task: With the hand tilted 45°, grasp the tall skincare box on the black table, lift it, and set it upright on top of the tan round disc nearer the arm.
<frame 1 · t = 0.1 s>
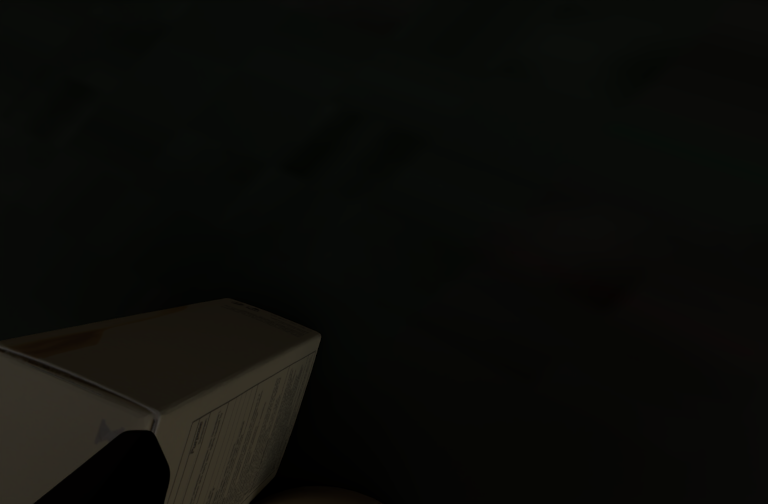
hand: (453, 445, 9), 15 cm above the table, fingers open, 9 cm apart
skincare box: (251, 389, 25), on the table
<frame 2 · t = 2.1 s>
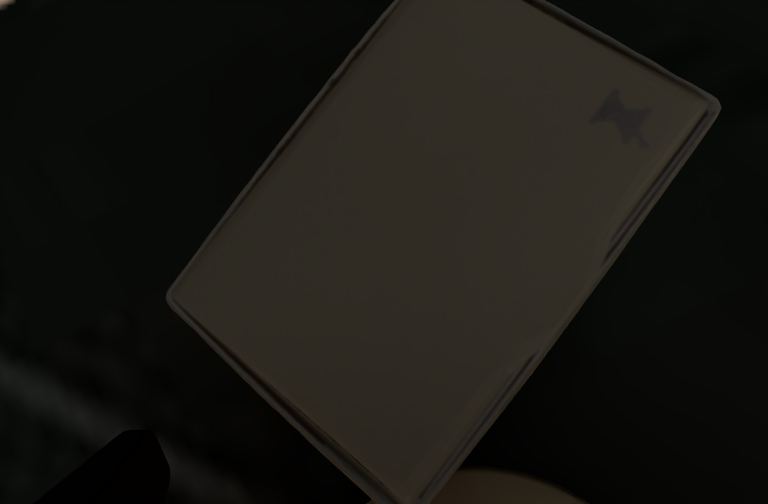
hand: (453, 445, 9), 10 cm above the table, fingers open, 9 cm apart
skincare box: (475, 325, 20), on the table
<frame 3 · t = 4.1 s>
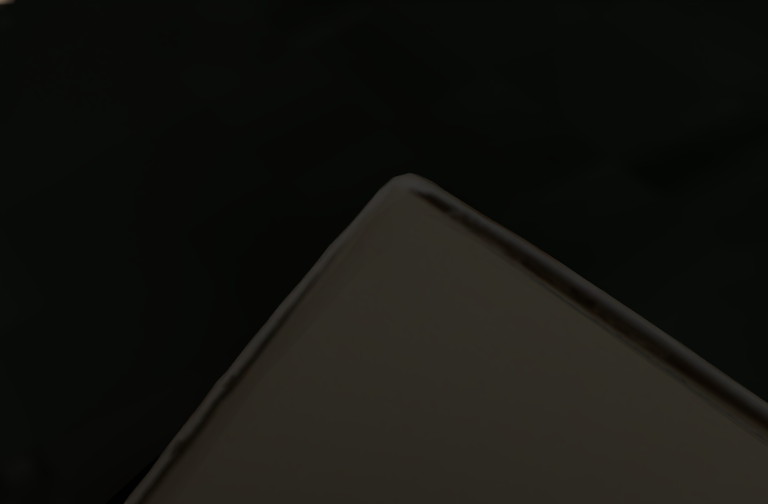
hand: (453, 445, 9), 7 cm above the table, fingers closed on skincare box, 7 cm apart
skincare box: (474, 490, 15), on the table, touching gripper
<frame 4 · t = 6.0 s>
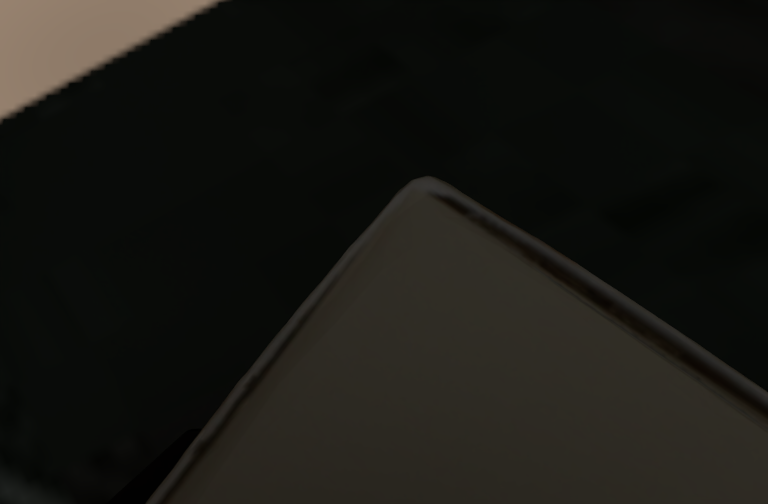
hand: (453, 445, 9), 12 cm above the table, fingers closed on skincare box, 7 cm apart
skincare box: (466, 486, 15), point 5 cm above the table, touching gripper
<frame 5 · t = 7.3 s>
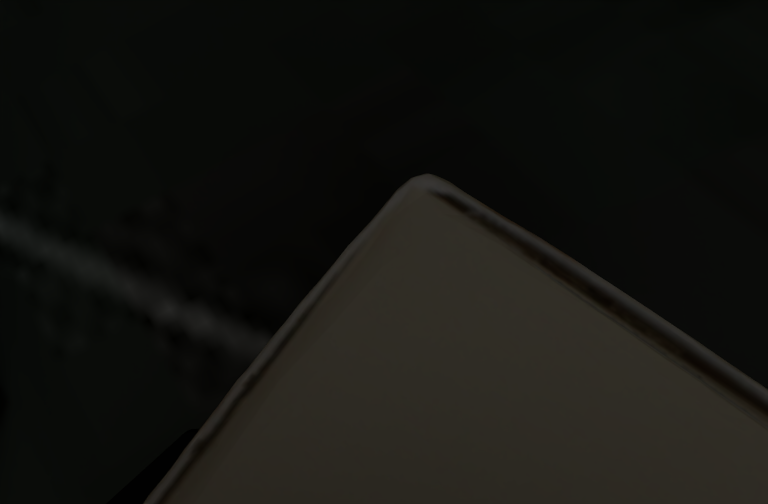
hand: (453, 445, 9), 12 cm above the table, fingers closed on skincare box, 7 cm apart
skincare box: (466, 486, 15), point 5 cm above the table, touching gripper
when the fingers open (11 cm above the table, at t = 8.3 s): skincare box stays where it is, resting on tan round disc.
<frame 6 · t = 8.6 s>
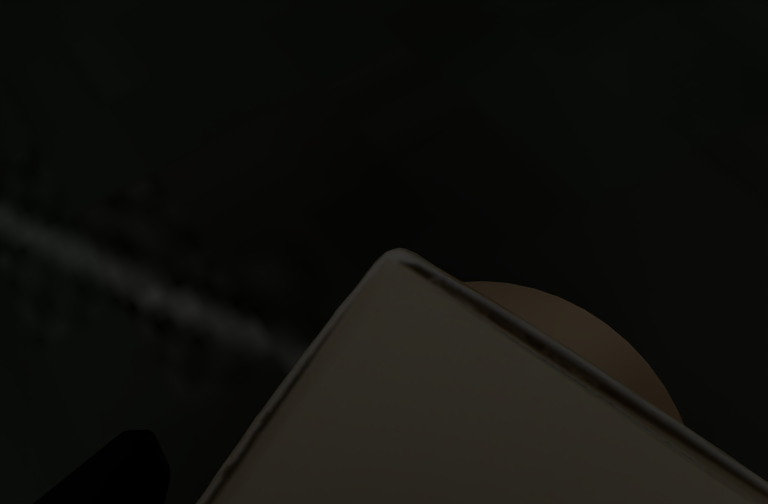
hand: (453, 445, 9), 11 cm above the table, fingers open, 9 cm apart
skincare box: (470, 490, 16), point 3 cm above the table, touching tan round disc
tan round disc: (483, 472, 19), on the table
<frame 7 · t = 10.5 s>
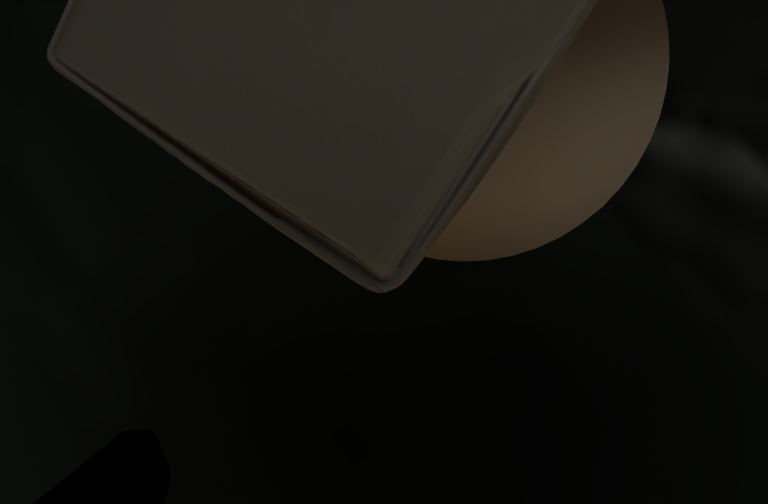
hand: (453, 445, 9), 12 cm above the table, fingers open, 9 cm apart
skincare box: (455, 77, 18), point 3 cm above the table, touching tan round disc
tan round disc: (467, 84, 20), on the table
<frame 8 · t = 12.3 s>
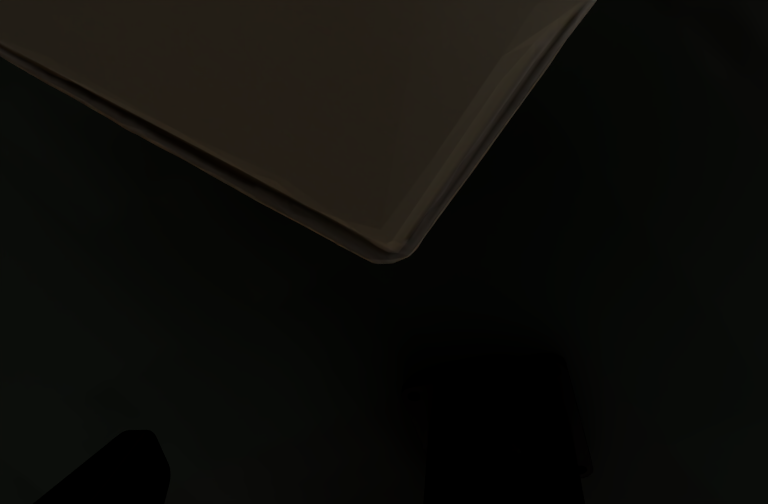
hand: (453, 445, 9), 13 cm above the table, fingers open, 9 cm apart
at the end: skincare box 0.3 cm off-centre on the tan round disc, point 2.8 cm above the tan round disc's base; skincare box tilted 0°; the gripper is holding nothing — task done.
